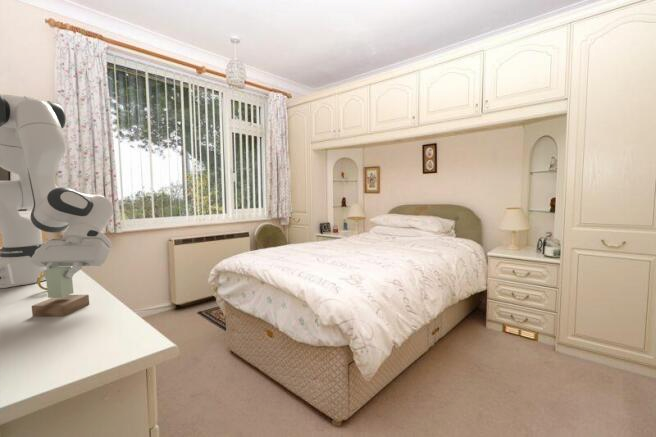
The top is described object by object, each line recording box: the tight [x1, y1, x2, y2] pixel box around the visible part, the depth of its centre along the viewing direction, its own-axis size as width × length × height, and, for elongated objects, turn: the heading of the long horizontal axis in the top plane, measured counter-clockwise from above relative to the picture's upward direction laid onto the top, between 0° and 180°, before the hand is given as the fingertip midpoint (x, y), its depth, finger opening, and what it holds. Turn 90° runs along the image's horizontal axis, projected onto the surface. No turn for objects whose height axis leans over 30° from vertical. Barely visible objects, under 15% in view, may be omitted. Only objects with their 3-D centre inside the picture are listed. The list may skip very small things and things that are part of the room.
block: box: [45, 266, 74, 299], centre depth 91 cm, size 4×4×8 cm
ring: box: [36, 269, 47, 291], centre depth 111 cm, size 7×3×8 cm, turn 140°
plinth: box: [31, 294, 90, 317], centre depth 92 cm, size 9×9×3 cm
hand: (57, 277), depth 91 cm, fingers closed on block, 4 cm apart
